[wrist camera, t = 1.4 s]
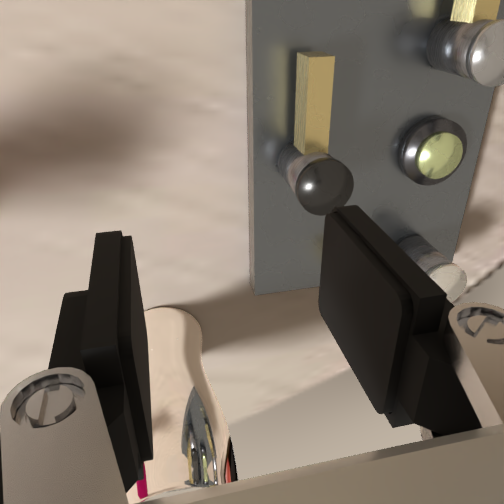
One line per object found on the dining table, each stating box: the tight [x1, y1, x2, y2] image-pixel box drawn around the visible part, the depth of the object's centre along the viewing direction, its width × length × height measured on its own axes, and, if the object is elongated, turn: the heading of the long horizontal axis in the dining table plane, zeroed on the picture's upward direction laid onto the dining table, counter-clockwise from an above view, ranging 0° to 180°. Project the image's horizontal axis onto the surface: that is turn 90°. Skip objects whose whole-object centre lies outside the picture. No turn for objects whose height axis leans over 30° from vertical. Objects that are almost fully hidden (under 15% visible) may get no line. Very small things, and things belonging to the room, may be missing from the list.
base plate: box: [246, 0, 504, 295], centre depth 30 cm, size 20×16×3 cm
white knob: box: [398, 236, 467, 302], centre depth 33 cm, size 8×3×5 cm, turn 91°
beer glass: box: [126, 307, 238, 504], centre depth 30 cm, size 7×7×15 cm
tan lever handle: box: [278, 51, 354, 216], centre depth 26 cm, size 8×3×5 cm, turn 1°
